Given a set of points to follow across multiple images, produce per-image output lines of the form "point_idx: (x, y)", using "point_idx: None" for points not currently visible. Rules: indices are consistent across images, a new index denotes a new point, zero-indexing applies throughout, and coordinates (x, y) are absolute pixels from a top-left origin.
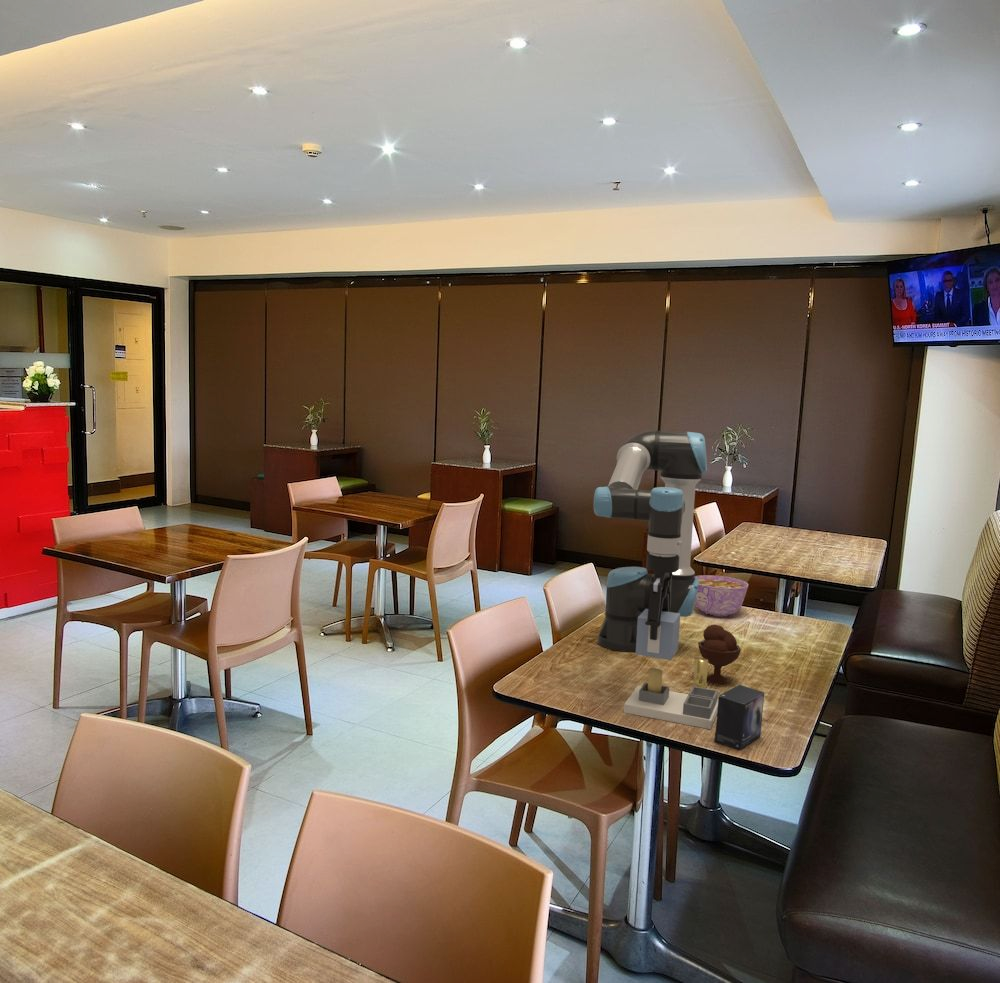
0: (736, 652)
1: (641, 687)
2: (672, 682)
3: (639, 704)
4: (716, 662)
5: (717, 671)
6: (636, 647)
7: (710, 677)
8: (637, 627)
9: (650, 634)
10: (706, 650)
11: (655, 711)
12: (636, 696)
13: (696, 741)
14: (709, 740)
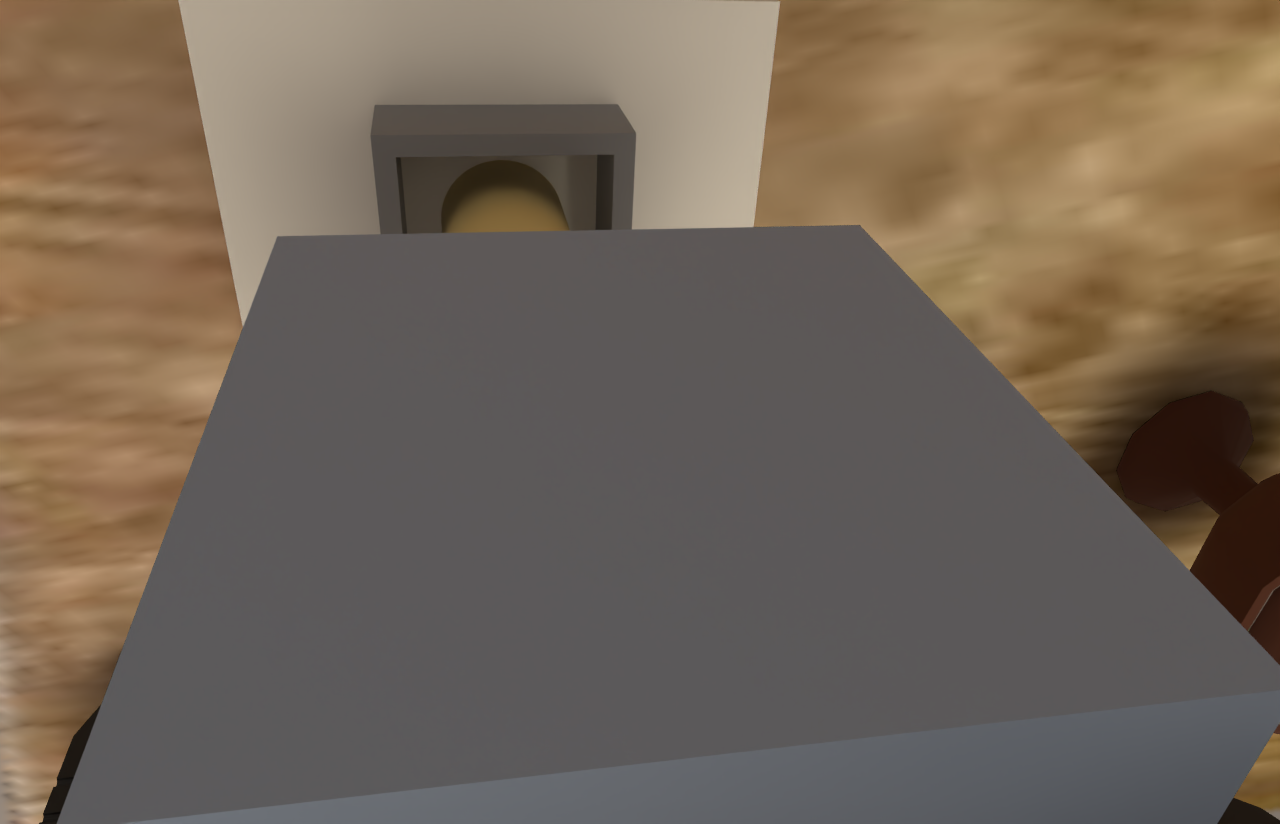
0: None
1: (468, 136)
2: (1093, 207)
3: (277, 136)
4: (1198, 563)
5: (1209, 496)
6: (260, 298)
7: (1182, 435)
8: (154, 564)
9: (50, 802)
10: (1277, 565)
11: (237, 289)
12: (469, 58)
13: (42, 577)
14: (124, 626)
